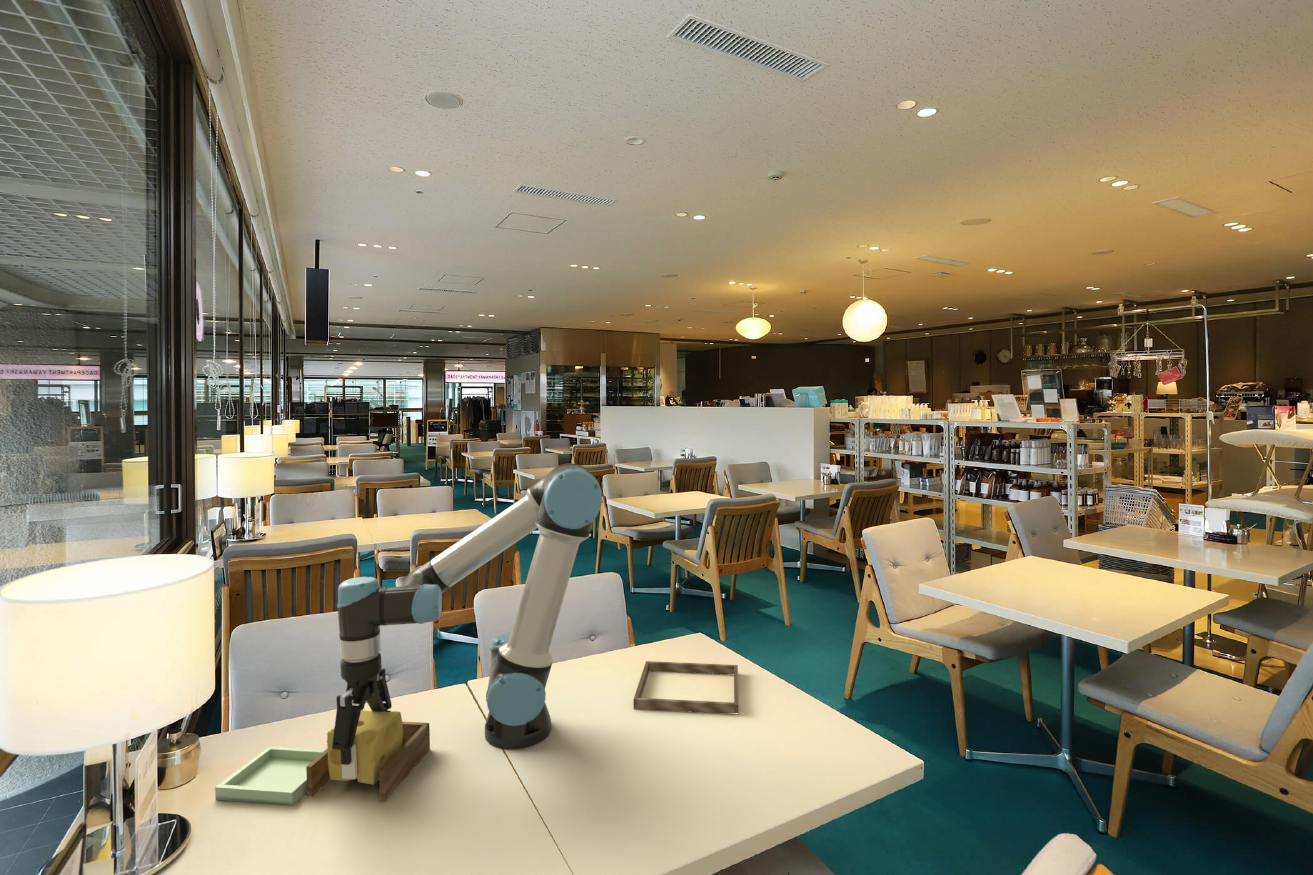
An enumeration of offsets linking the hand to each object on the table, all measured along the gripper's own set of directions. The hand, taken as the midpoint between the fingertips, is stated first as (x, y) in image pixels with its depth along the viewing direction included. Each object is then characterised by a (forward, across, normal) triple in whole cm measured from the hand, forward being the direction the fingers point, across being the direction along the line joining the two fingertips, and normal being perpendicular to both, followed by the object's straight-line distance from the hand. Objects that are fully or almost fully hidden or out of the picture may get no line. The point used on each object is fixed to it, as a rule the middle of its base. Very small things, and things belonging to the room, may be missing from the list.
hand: (365, 761), depth 133 cm
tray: (+3, +2, -17) cm, 18 cm away
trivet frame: (+4, -48, +63) cm, 79 cm away
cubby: (+4, -3, 0) cm, 5 cm away
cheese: (+2, 0, 0) cm, 2 cm away
